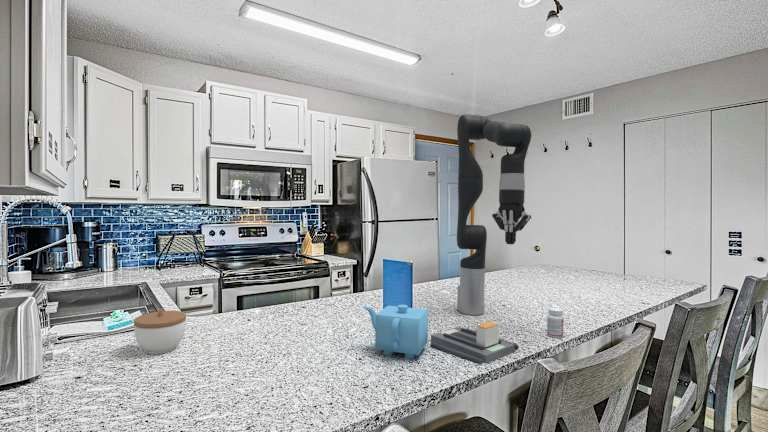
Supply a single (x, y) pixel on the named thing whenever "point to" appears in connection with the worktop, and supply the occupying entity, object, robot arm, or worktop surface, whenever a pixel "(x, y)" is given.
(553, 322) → the pill bottle
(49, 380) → the worktop surface
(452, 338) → the panel
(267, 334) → the worktop surface
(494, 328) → the grey orange rectangular block
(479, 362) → the cord
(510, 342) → the dark grey rod
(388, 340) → the teapot
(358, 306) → the worktop surface
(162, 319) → the lidded bowl
